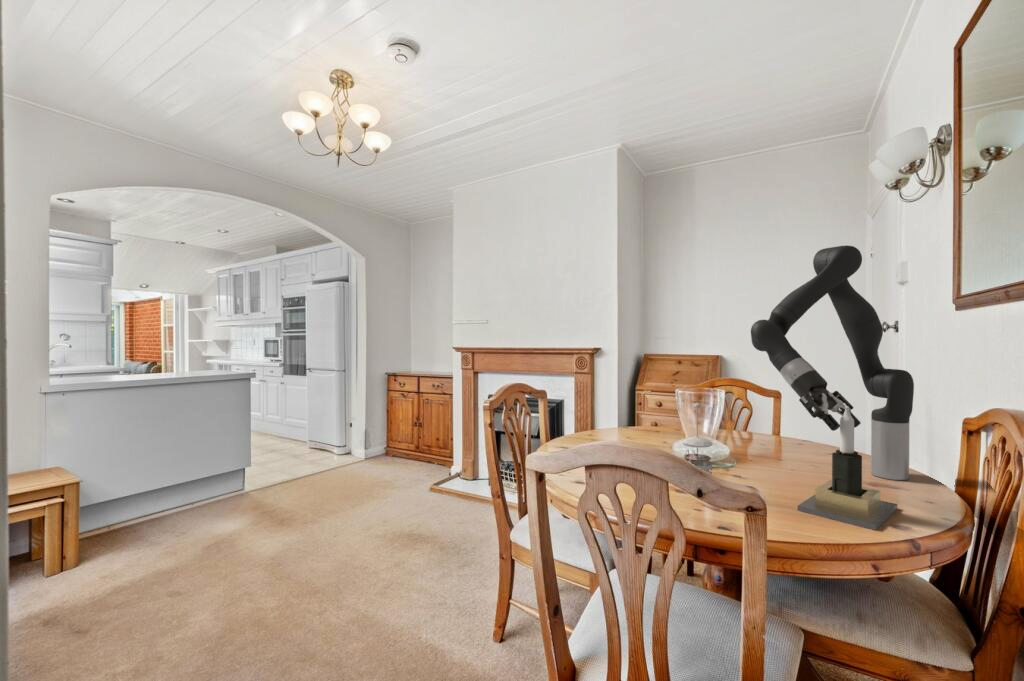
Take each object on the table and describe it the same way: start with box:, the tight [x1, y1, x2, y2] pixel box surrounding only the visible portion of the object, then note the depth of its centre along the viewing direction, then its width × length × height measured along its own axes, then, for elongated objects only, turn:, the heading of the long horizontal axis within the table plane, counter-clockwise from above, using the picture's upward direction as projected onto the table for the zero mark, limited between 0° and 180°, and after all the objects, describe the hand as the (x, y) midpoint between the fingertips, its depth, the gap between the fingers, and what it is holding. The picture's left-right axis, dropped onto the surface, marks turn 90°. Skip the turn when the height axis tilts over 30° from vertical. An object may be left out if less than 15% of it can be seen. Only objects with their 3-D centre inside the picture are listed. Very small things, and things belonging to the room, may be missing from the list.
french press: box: [682, 402, 713, 475], centre depth 134 cm, size 10×12×25 cm
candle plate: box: [797, 479, 898, 531], centre depth 119 cm, size 20×16×5 cm
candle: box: [831, 405, 863, 496], centre depth 120 cm, size 5×5×25 cm
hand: (847, 427), depth 119 cm, fingers open, 8 cm apart
